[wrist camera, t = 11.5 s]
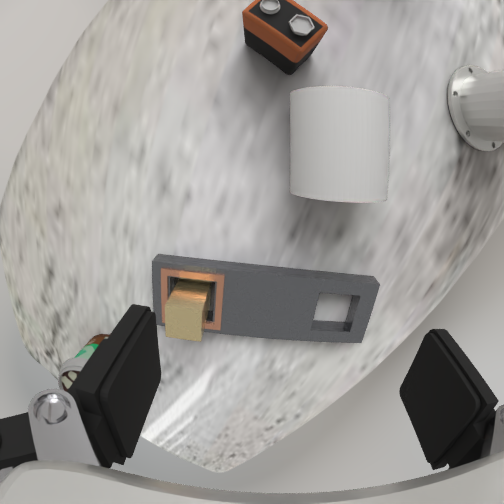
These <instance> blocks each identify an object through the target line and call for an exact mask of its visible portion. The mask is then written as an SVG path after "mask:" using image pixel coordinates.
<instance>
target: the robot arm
mask: <svg viewBox="0 0 504 504" xmlns="http://www.w3.org/2000/svg"><path fill="white" fill-rule="evenodd" d="M448 105H449V110H450V114H451V117H452V120H453V122H454V125H455V127H456V129H457V130H458V132H459V134H460V135H461V136H462V138H463V139H464V140H465V141H466V142H467V143H468V144H469V145H470V146H472V147H473V148H475V149H477V150H481V151H493V150H496V149H498V148H499V147H500V146H501V145H502V143H503V142H504V70H499V71H493V72H487V71H485V70H484V69H482V68H480V67H478V66H473V65H468V66H464V67H461V68H459V69H457V70H456V71H455V72H454V74H453V75H452V77H451V79H450V82H449V86H448ZM160 380H161V367H160V358H159V348H158V337H157V325H156V314H155V312H151V310H150V308H149V307H147V306H141V305H135V304H133V305H131V306H130V308H129V309H128V311H127V312H126V313H125V315H124V316H123V317H122V319H121V320H120V322H119V323H118V324H117V326H116V327H115V329H114V330H113V331H112V333H111V334H110V336H109V337H108V339H107V338H105V339H103V340H102V341H101V342H100V344H99V345H98V347H97V348H96V349H95V351H94V352H93V354H92V355H91V357H90V358H89V359H88V361H87V362H86V364H85V365H84V367H83V368H82V370H81V371H80V373H79V374H78V376H77V377H76V379H75V380H74V382H73V383H72V385H71V386H70V388H69V389H68V391H67V392H66V391H63V390H60V389H47V390H44V391H41V392H39V393H38V394H36V395H35V396H34V397H33V398H32V400H31V401H30V404H29V408H28V412H27V413H23V414H20V415H15V416H12V417H7V418H3V419H0V504H504V405H501V406H499V408H498V409H497V410H496V411H495V410H494V407H495V406H496V404H497V403H498V399H497V398H496V397H495V395H494V394H493V392H492V390H491V389H490V388H489V386H488V385H487V383H486V382H485V381H484V379H483V378H482V376H481V375H480V374H479V372H478V371H477V369H476V368H475V367H474V365H473V364H472V363H471V361H470V360H469V359H468V357H467V356H466V355H465V353H464V352H463V351H462V349H461V348H460V347H459V345H458V344H457V343H456V342H455V340H454V339H453V338H452V336H451V335H450V334H449V333H448V331H447V330H445V329H432V330H430V331H429V332H428V333H427V334H426V335H425V337H424V339H423V341H422V343H421V346H420V348H419V350H418V352H417V354H416V356H415V359H414V361H413V363H412V365H411V367H410V369H409V371H408V373H407V375H406V377H405V379H404V381H403V383H402V385H401V387H400V397H401V399H402V401H403V404H404V406H405V408H406V411H407V413H408V415H409V417H410V420H411V422H412V425H413V427H414V430H415V432H416V435H417V437H418V439H419V442H420V445H421V447H422V450H423V452H424V455H425V457H426V460H427V462H428V463H430V464H431V466H432V469H433V470H435V469H438V468H442V467H445V466H446V464H449V469H448V470H446V471H443V472H439V473H435V474H431V475H428V476H424V477H420V478H416V479H411V480H407V481H402V482H398V483H392V484H387V485H382V486H375V487H368V488H361V489H353V490H344V491H333V492H319V493H289V494H288V493H283V494H282V493H281V494H280V493H251V492H237V491H226V490H216V489H209V488H202V487H195V486H188V485H182V484H177V483H171V482H166V481H160V480H156V479H151V478H147V477H143V476H139V475H135V474H130V473H125V472H121V471H117V470H113V469H110V467H111V466H112V463H113V462H115V463H118V464H121V465H124V462H125V460H126V457H127V458H131V457H132V455H133V453H134V450H135V447H136V444H137V442H138V439H139V436H140V433H141V431H142V428H143V425H144V423H145V420H146V417H147V415H148V412H149V409H150V407H151V404H152V401H153V399H154V396H155V394H156V391H157V388H158V386H159V383H160Z"/></svg>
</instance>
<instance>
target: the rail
mask: <svg viewBox="0 0 504 504" xmlns="http://www.w3.org/2000/svg"><path fill="white" fill-rule="evenodd" d="M175 278H184V279H192V280H200V281H209V282H215V292H214V308H213V311H209V313H208V316H207V320H206V324H205V328H204V332H212V333H220V334H229V335H239V336H249V337H260V338H272V339H285V340H300V341H319V342H346V343H362V340H363V337H364V334H365V331H366V328H367V325H368V322H369V319H370V316H371V313H372V309H373V306H374V303H375V300H376V296H377V293H378V290H379V286H380V284H379V283H378V281H377V280H376V279H375V278H374V277H373V276H365V275H354V274H344V273H333V272H323V271H313V270H303V269H293V268H283V267H273V266H264V265H254V264H245V263H235V262H226V261H217V260H207V259H198V258H189V257H180V256H172V255H163V254H158V255H157V256H156V257H155V258H154V259H153V261H152V283H153V309H154V312H155V314H156V325H161V326H165V304H166V302H167V301H168V299H169V297H170V295H171V293H172V291H173V289H174V287H175ZM319 292H320V293H333V294H345V295H353V297H352V300H351V304H350V308H349V311H348V315H347V318H346V322H333V321H317V320H313V318H314V314H315V309H316V305H317V301H318V296H319Z"/></svg>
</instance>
